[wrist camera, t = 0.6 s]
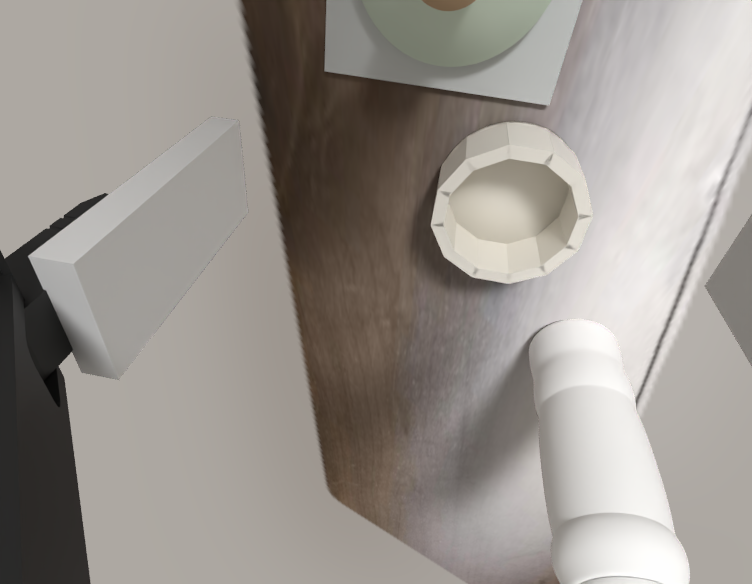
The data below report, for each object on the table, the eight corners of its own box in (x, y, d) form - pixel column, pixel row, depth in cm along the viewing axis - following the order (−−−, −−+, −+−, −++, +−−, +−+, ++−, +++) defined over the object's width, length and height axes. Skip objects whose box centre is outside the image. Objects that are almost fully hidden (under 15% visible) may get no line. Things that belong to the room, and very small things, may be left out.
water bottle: (521, 321, 40) (559, 702, 21) (613, 308, 38) (755, 723, 18) (534, 379, 44) (578, 747, 24) (619, 370, 41) (742, 769, 22)
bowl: (452, 110, 31) (448, 134, 27) (601, 133, 30) (616, 161, 27) (427, 235, 37) (422, 268, 33) (552, 257, 36) (559, 293, 32)
